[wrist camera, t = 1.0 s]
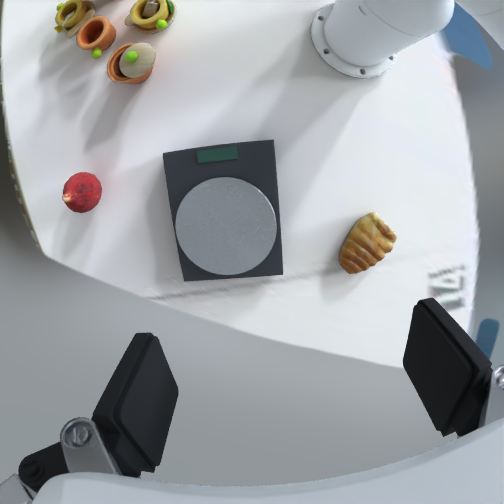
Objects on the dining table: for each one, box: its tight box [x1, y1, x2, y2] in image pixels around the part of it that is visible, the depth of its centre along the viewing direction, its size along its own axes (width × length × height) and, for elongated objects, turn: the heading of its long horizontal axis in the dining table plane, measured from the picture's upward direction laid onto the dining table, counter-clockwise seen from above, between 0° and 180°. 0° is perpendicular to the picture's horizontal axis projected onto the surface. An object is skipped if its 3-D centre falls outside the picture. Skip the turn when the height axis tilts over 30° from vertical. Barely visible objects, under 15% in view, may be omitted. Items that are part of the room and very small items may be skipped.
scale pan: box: [175, 177, 277, 275], centre depth 37 cm, size 13×13×1 cm
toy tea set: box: [54, 0, 177, 84], centre depth 24 cm, size 26×16×10 cm, turn 41°
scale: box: [163, 140, 283, 281], centre depth 38 cm, size 18×14×3 cm
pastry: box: [339, 212, 397, 274], centre depth 39 cm, size 9×7×4 cm
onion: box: [62, 172, 102, 213], centre depth 35 cm, size 6×6×8 cm
